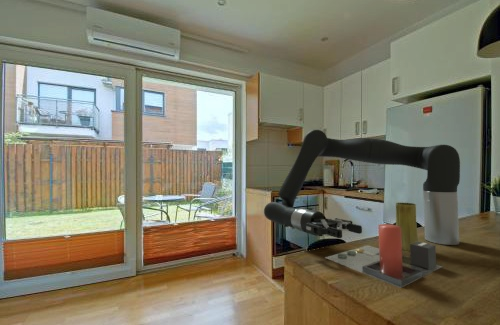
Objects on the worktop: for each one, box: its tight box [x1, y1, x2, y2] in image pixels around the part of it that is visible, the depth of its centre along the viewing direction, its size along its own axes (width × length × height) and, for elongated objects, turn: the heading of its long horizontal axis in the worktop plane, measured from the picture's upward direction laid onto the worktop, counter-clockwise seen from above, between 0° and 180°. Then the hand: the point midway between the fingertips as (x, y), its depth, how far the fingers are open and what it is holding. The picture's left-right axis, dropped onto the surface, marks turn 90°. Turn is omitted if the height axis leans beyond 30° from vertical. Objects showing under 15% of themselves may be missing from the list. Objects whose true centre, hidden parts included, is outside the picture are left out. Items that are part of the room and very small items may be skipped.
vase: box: [395, 202, 419, 252], centre depth 74 cm, size 6×6×14 cm
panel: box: [324, 244, 443, 289], centre depth 62 cm, size 20×20×2 cm
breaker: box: [409, 241, 437, 269], centre depth 60 cm, size 4×4×5 cm
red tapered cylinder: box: [377, 223, 403, 278], centre depth 55 cm, size 5×5×11 cm
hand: (351, 232), depth 64 cm, fingers open, 8 cm apart
